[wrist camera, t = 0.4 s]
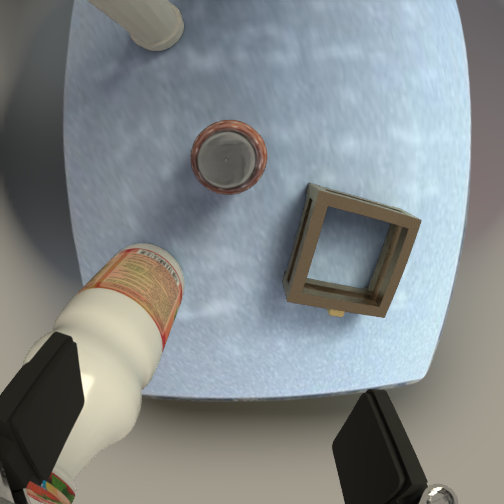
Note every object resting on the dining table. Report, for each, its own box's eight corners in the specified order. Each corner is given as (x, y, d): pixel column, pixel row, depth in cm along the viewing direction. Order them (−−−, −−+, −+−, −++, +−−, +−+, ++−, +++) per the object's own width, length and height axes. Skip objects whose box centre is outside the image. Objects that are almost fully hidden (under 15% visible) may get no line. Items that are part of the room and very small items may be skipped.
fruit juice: (181, 239, 35) (59, 464, 8) (190, 313, 38) (132, 540, 12) (105, 242, 35) (-63, 410, 8) (119, 312, 38) (15, 500, 12)
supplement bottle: (195, 137, 31) (169, 136, 20) (250, 115, 30) (250, 102, 20) (217, 189, 33) (202, 214, 22) (271, 168, 32) (282, 183, 22)
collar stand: (308, 182, 33) (318, 190, 28) (401, 208, 34) (421, 220, 29) (280, 286, 37) (284, 308, 32) (367, 302, 38) (381, 323, 33)
